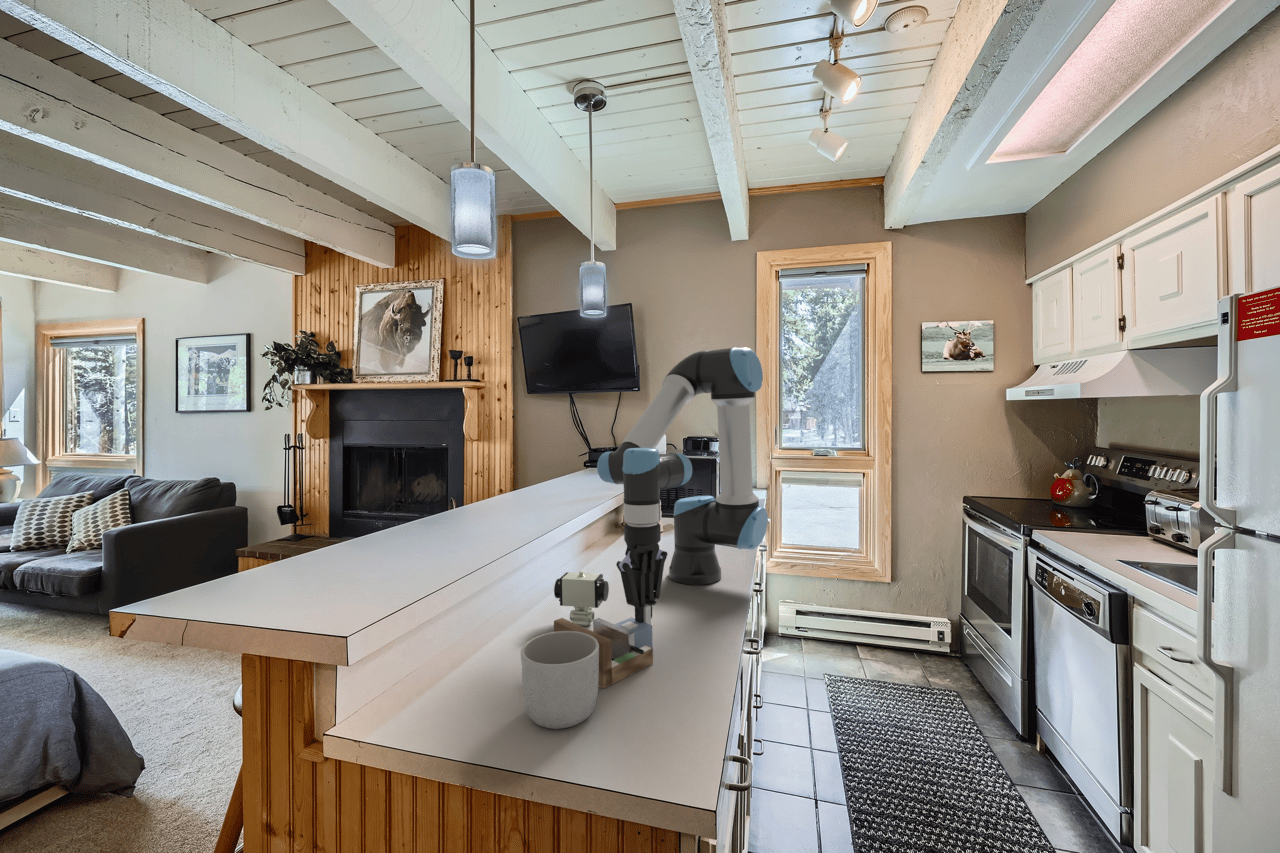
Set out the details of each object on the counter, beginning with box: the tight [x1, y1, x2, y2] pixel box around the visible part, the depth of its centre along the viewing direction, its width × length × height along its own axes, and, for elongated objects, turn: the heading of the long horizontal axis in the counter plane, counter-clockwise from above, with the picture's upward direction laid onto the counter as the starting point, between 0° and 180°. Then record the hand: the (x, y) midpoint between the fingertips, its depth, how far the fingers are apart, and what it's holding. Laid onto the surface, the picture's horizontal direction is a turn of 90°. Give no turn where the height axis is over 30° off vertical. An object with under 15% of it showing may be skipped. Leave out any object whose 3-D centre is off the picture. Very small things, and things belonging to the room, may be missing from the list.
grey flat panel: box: [592, 617, 644, 660], centre depth 101 cm, size 2×13×6 cm, turn 44°
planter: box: [520, 631, 599, 730], centre depth 84 cm, size 12×12×11 cm
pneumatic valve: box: [553, 570, 610, 627], centre depth 120 cm, size 6×12×12 cm, turn 78°
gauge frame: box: [553, 617, 654, 689], centre depth 101 cm, size 12×15×8 cm
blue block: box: [614, 617, 654, 649], centre depth 105 cm, size 7×6×5 cm
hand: (644, 635), depth 109 cm, fingers closed
